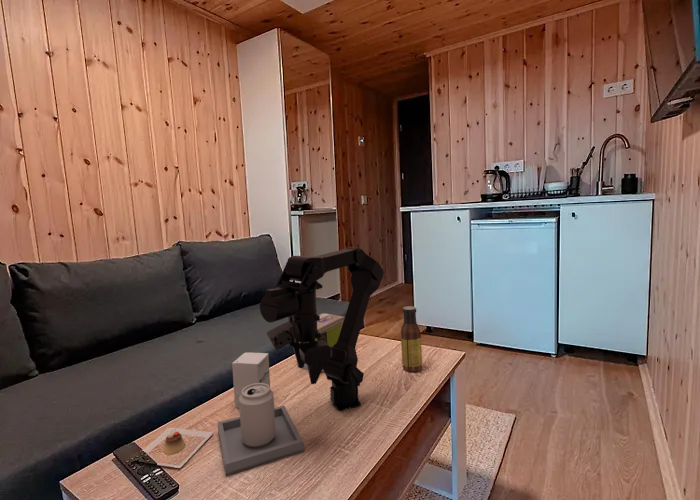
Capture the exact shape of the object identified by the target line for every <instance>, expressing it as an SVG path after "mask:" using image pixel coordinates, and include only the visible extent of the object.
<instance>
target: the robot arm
mask: <svg viewBox="0 0 700 500" xmlns="http://www.w3.org/2000/svg"><path fill="white" fill-rule="evenodd" d="M344 267H346V270H347V271H348V272H349V273H350V274H351V275H350V285H351V288H352V292H351V296H350V298H349V302H348V305H347V310H346V312H345V315H344V317H345V318H344V321H343V325H342V328H341V331H340V334H339V338H338V341H337V343H336V344H335V345H334V346H333V347H330V346H329V345H328V344H327V343H326V342H324V341H323V340H319V341H315V338H321V335H320V332H318V329H317V321H318V320H320V316H319V314H318V310H317V309H318V308H317V290H321V289H323V284H321V283H320V282H319V280H320V279H322V278H323V277H324V276H325V274H326V273H328V272H331V271H335V270H338V269H341V268H344ZM383 278H384V269H383V268H382V265H380V263H378V262H377V260H375V259H374V258H372V257H371V256H369V255H368V254H367V253H366V252H365V250H363V249H362V248H360V247H345V248H344V249H340V250H339V249H338V250H335V251H331V252H327V253H323V254H320V255H319V254H318V255H291V256H289V257H288V258H287V261H286V263H285V266H284V268H283V270H282V272H281V275H280V276H279V278H278V280H277V283H276V285H275V287H276V288H268V289H265V292H264V293H265V295H264V296H263V297H262V298H261V300H260V303H259V310H260V315H261V317H262V318H263V320H265V321H266V322H267V323H275V322H278V321H280V320H283V319H286V318H288V321H286V322H284V323H282V324H280V325H278V326H274V328H272V329H269V330H268V331H267V332H266V335H267V337H268V340H269V341H270V343H271V346H272V347H273V348H274V350H275V351H279V350H281V349H282V348H283V347H285V346H287V345H290V346H291V347H292V348H293V350H292V351H294V352H293V353H294V356H295V359H296V364H297V363H298V366H299V367H298V366H297V367H298V368H299V369H303V367H304V364H307V367H308V370H307V371H308V376H309V380H310V384H311V385H316V384H317V383H318V380H319V378H320V375H321V374H322V372H321V371H322V369H323V370H324V371H323V373H324V375H325V377H326V380H328V381H331V386H330V388H329V391H330V398H329V400H330V402H331V403H332V405H333V406H334V407H335V408H336V409H337V411H339V412H342V411H345V410H348V409H352V408H355V407H356V408H357V407H359V406H361V405H362V402H361V401H360V400H359V387H360V386H361V383H362V382H363V379H364V377H365V375H364V372H363V371H362V370H360V369H359V367H357V366H358V360H359V358H358V355H357V350H356V346H357V343H358V339H359V336H360V332H361V329H362V326H363V322H364V318H365V315H366V311H367V309H368V305H369V301H370V299H371V298H370V297H371V296H372V294H374V293H375V292H376V291H377V290H378V289H379V288H380V285H381V283H382V280H383Z"/></svg>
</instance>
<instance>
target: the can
mask: <svg viewBox="0 0 700 500" xmlns="http://www.w3.org/2000/svg"><path fill="white" fill-rule="evenodd" d="M274 399H275V398H274V391H273V390H272V389H271V385H270V386H269V385H267V384H265V383H255V384H251V385H248V386H246V387H245V388H243V390H242V392H241V395H240V397H239V408H238V409H239V417H240V422H241V436H242V441H243V443H245V444H246V445H248V446H250V447H262V446H264V445H266V444H268V443H269V442H270V441H271V440H272V439H273V438H274V437H275V435H276V430H275V413H274V408H275V400H274Z"/></svg>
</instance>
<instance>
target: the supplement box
mask: <svg viewBox="0 0 700 500" xmlns="http://www.w3.org/2000/svg"><path fill="white" fill-rule="evenodd" d="M269 358H270V357H269V353H268V352H266V353H265V352H244V353H242V354H241V355H240V356H239V357H237V358H236V360H234V361H233V362H232V363H231V366H232V381H233V383H232V384H233V393H234V394H233V396H234V408H235V409H236V408H237V409H240V408H239V397H240V395H241V392H242V390H243V388H245V387H246V386H248V385H251V384H255V383H265V384H267V385H269V386H270V387H271V377H270V376H271V375H270V373H271V372H270V361H269Z"/></svg>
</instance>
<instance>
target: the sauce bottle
mask: <svg viewBox="0 0 700 500" xmlns="http://www.w3.org/2000/svg"><path fill="white" fill-rule="evenodd" d="M402 309H403V310H402V312H403V323H402V325H401V328H400V334H401V335H400V336H401V337H400V341H401V363H402V364H401V365H402V368H403V370H404V369H405V371H407V372H409V371H417V372H419V371H421V370H422V369H423V354H422V333H421V331H420V328H419V325H418V322H417V316H416V315H417V314H416V313H417V308H416V306H413V305H412V306H411V305H408V306H403V307H402ZM421 368H422V369H421ZM420 369H421V370H420ZM418 370H419V371H418Z"/></svg>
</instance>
